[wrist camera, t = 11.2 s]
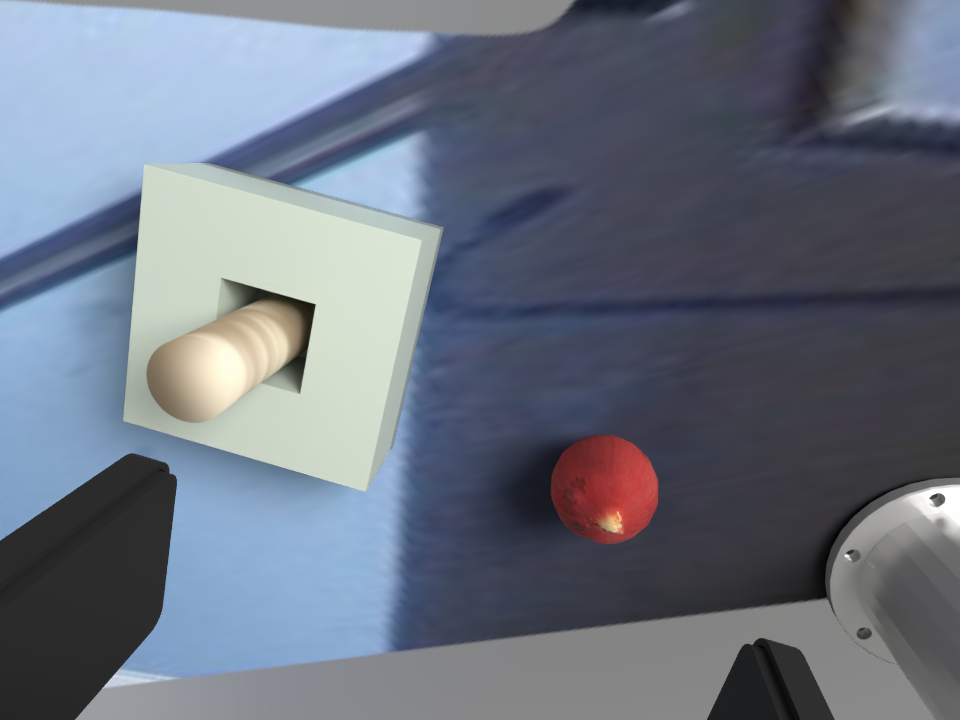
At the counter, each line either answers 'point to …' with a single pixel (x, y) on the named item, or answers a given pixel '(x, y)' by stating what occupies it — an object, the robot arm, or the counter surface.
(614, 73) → the counter surface
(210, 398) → the pin
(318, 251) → the hole block
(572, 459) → the onion
